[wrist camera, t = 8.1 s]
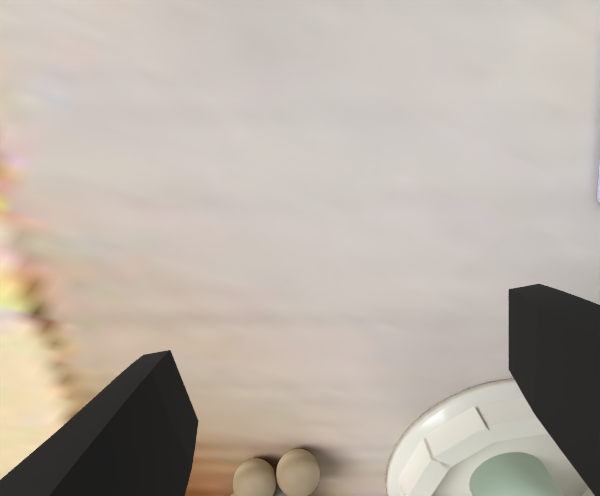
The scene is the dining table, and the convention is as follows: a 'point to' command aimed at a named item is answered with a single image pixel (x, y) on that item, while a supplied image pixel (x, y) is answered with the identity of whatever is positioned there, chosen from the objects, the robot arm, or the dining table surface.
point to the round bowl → (474, 443)
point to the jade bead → (513, 477)
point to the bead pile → (278, 476)
